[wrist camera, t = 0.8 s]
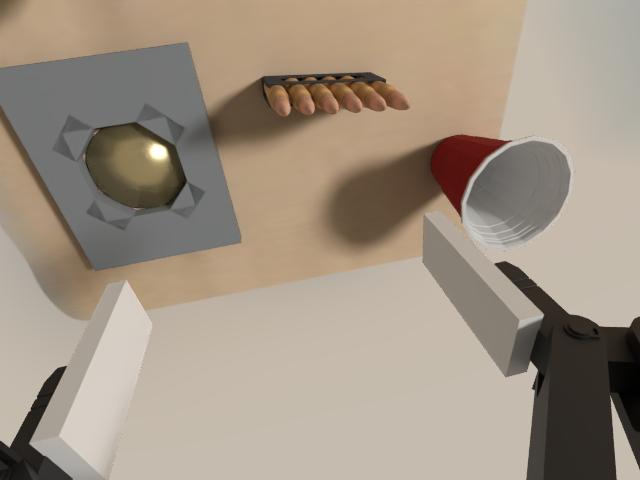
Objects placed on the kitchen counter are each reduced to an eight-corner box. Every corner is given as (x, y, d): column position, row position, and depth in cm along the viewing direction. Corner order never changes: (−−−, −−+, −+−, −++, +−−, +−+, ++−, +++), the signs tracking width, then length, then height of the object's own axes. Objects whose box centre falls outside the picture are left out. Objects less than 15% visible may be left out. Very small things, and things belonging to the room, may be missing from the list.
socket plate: (-8, 69, 29) (-20, 71, 28) (187, 42, 31) (185, 43, 30) (99, 263, 40) (95, 271, 39) (241, 236, 42) (241, 242, 40)
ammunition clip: (263, 97, 34) (272, 128, 24) (261, 76, 33) (270, 99, 23) (369, 92, 36) (419, 119, 26) (371, 72, 35) (422, 92, 25)
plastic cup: (508, 106, 39) (599, 135, 29) (485, 196, 45) (554, 245, 35) (416, 110, 38) (479, 142, 28) (404, 203, 43) (452, 257, 33)
